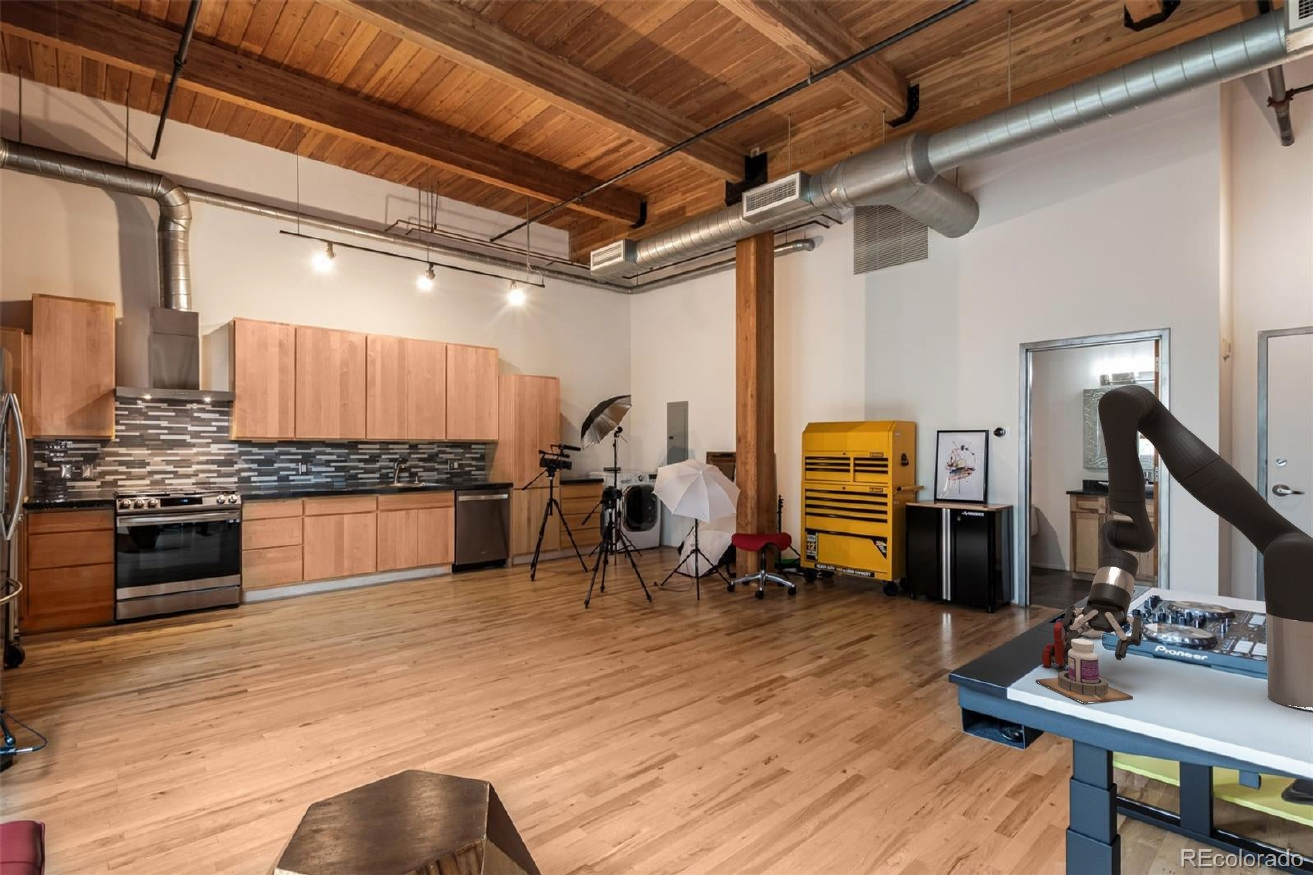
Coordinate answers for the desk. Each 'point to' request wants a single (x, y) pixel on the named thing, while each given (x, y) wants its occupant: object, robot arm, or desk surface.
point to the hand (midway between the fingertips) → (1094, 653)
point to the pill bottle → (1083, 662)
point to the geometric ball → (1092, 632)
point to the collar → (1084, 689)
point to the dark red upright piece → (1057, 647)
